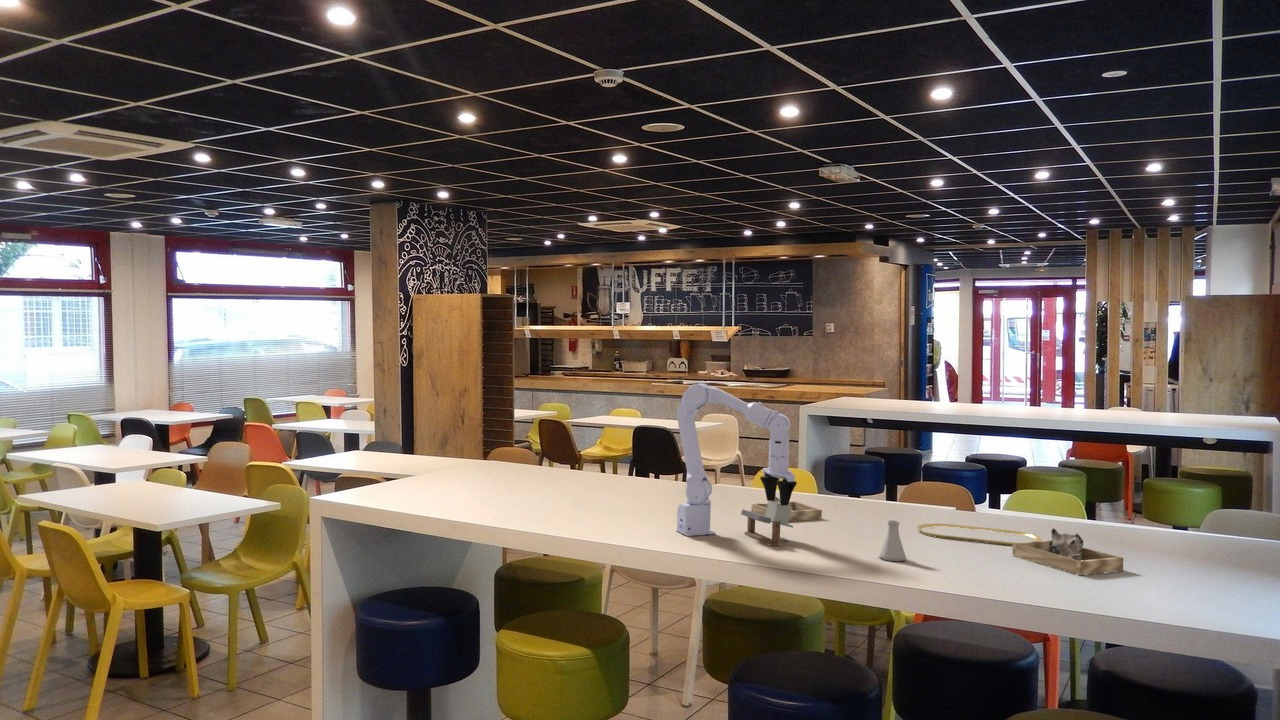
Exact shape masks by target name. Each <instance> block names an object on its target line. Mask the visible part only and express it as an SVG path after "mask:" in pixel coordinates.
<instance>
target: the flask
mask: <svg viewBox="0 0 1280 720" xmlns="http://www.w3.org/2000/svg"><path fill="white" fill-rule="evenodd" d="M900 524H901V523H900V521H899V520H891V519H890V520H887V525H888V527H887V528H888V529H887V534H886V538H885V540H884V543H883V545H882V548H881V551H880V553H879V557H878V558H880V559H882V560H883V561H889V562H890V561H892V562H903V561H904V562H905V561H907V556H906V553H905V550H904V547H903V544H902V541H901V537H900V530H899V525H900Z"/></svg>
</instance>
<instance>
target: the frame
mask: <svg viewBox="0 0 1280 720" xmlns="http://www.w3.org/2000/svg"><path fill="white" fill-rule="evenodd" d="M750 511H751V510H750ZM751 512H754V511H751ZM771 523H772V524H771V529H772V530H771V538H770V537H767V536H766V535H762V534H761V533H758V532H756V520H755V519H752V518H749V517H747V531H744V535H745V534H746V535H745V536H747V535H748V537H750V536H751V537H750V538H752V537H753V538H752V539H754V538H755V539H754V540H757V539H758V540H757V541H759V540H760V542H761V541H762V543H764V542H765V543H764V544H766V543H767V544H766V545H768V544H770V545H769V546H771V545H772V547H778V546H777V545H781V546H782V544H781V525H780V521H778V520H773V521H772V522H771Z"/></svg>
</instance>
